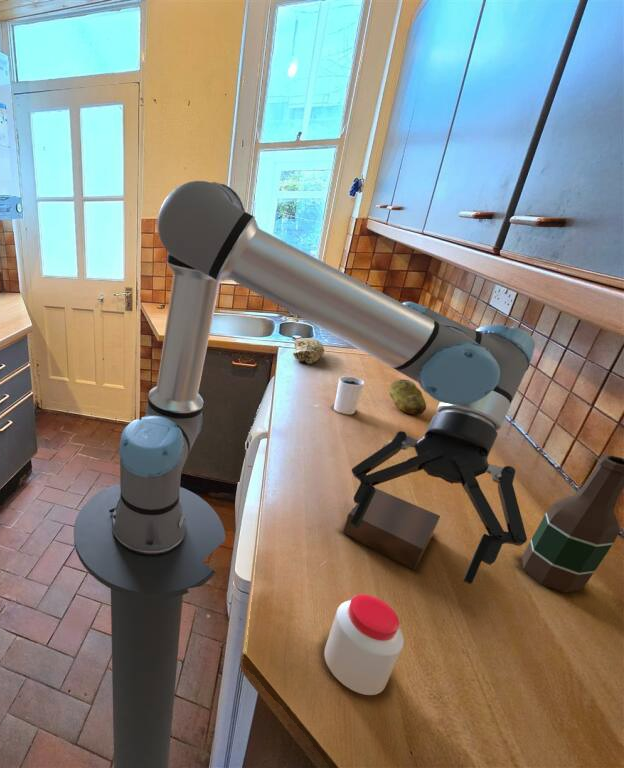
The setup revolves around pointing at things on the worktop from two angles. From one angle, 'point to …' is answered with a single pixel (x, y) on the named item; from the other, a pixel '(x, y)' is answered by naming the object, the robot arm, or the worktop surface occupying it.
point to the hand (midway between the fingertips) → (405, 551)
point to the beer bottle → (577, 531)
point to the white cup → (348, 394)
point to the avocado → (407, 397)
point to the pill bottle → (364, 644)
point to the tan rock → (308, 350)
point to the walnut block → (394, 528)
